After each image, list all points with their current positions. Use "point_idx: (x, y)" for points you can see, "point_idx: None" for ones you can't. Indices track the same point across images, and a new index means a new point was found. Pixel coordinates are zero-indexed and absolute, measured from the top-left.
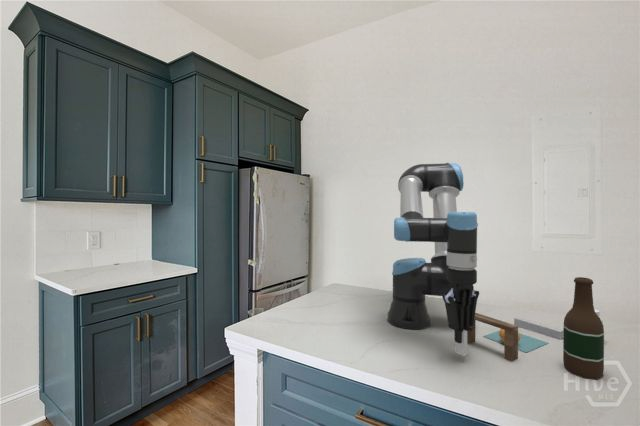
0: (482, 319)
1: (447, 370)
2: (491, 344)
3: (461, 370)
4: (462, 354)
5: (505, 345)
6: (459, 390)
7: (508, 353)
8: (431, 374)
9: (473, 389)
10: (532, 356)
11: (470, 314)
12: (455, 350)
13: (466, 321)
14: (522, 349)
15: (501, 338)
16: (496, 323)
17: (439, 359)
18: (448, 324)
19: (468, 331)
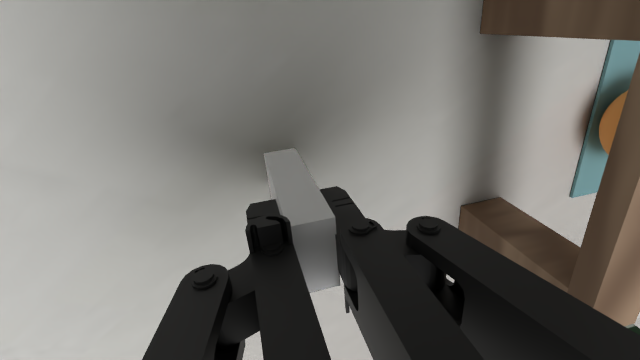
0: (631, 168)
1: (130, 218)
2: (555, 86)
3: (202, 234)
4: (271, 199)
5: (500, 241)
6: (74, 342)
7: (477, 235)
8: (8, 228)
9: (141, 343)
10: (555, 220)
11: (480, 349)
12: (265, 159)
13: (367, 340)
14: (588, 176)
15: (616, 110)
16: (604, 264)
17: (166, 116)
18: (172, 301)
19: (538, 28)
